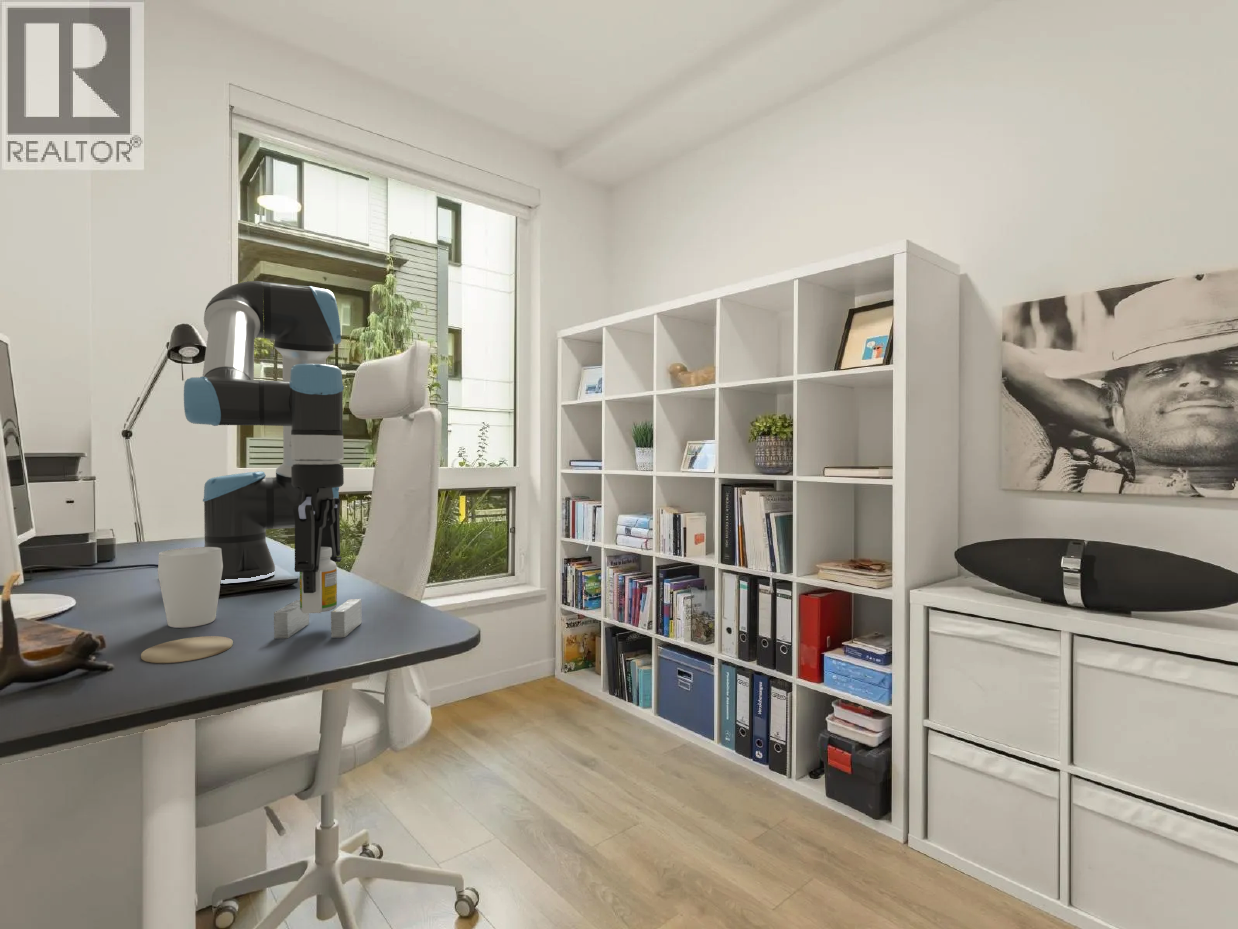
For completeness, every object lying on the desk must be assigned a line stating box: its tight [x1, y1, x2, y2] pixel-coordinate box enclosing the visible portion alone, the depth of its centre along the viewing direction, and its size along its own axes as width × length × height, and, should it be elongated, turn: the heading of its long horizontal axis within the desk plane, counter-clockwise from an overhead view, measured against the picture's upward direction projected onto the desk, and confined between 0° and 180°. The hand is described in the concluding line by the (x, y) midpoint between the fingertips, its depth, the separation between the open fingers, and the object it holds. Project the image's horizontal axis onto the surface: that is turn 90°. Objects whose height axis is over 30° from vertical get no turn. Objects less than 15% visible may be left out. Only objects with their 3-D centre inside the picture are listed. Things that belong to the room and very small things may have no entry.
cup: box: [157, 546, 223, 629], centre depth 107 cm, size 9×9×12 cm
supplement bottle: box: [299, 547, 338, 613], centre depth 103 cm, size 5×5×10 cm
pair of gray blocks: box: [273, 598, 363, 640], centre depth 103 cm, size 8×10×4 cm
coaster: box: [140, 635, 234, 664], centre depth 93 cm, size 11×11×1 cm
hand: (319, 607), depth 103 cm, fingers closed on supplement bottle, 5 cm apart
